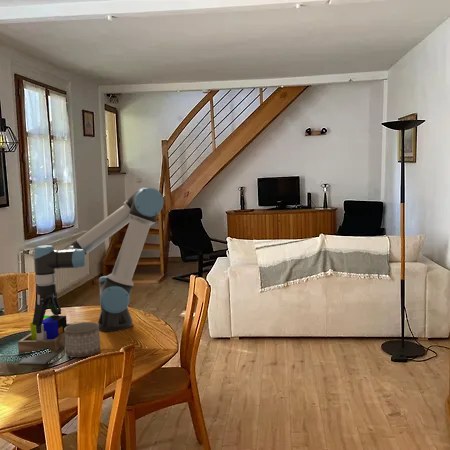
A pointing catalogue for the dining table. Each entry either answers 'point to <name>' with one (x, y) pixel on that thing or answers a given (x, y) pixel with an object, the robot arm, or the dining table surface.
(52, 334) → the puzzle toy
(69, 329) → the planter
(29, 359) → the mat
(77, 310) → the dining table surface
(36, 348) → the pocket frame
